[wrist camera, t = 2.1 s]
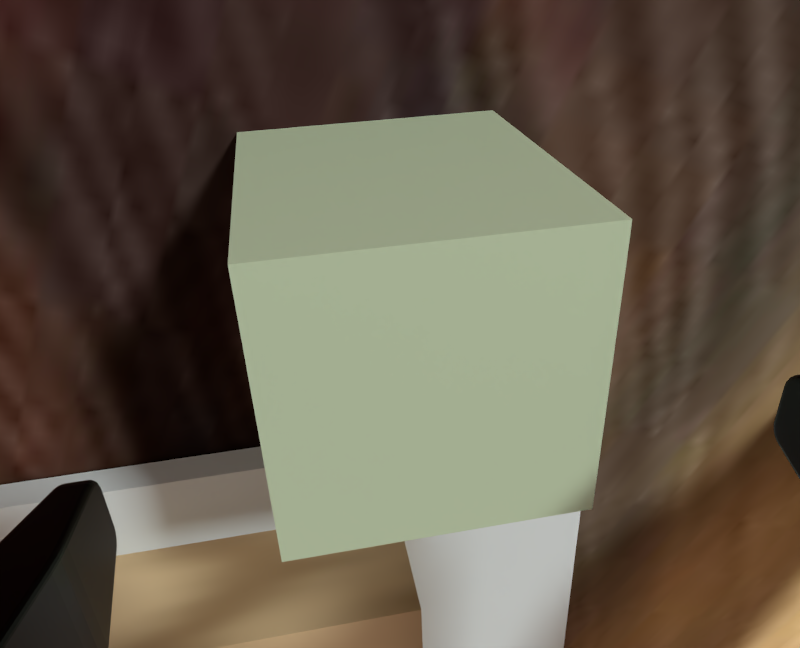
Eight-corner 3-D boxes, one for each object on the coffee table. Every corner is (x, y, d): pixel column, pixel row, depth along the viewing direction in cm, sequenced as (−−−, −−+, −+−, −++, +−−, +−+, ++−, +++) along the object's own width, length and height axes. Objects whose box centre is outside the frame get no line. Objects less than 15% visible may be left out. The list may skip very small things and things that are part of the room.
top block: (491, 110, 14) (632, 219, 9) (486, 326, 16) (591, 508, 11) (236, 132, 13) (228, 264, 8) (272, 354, 16) (281, 562, 11)
